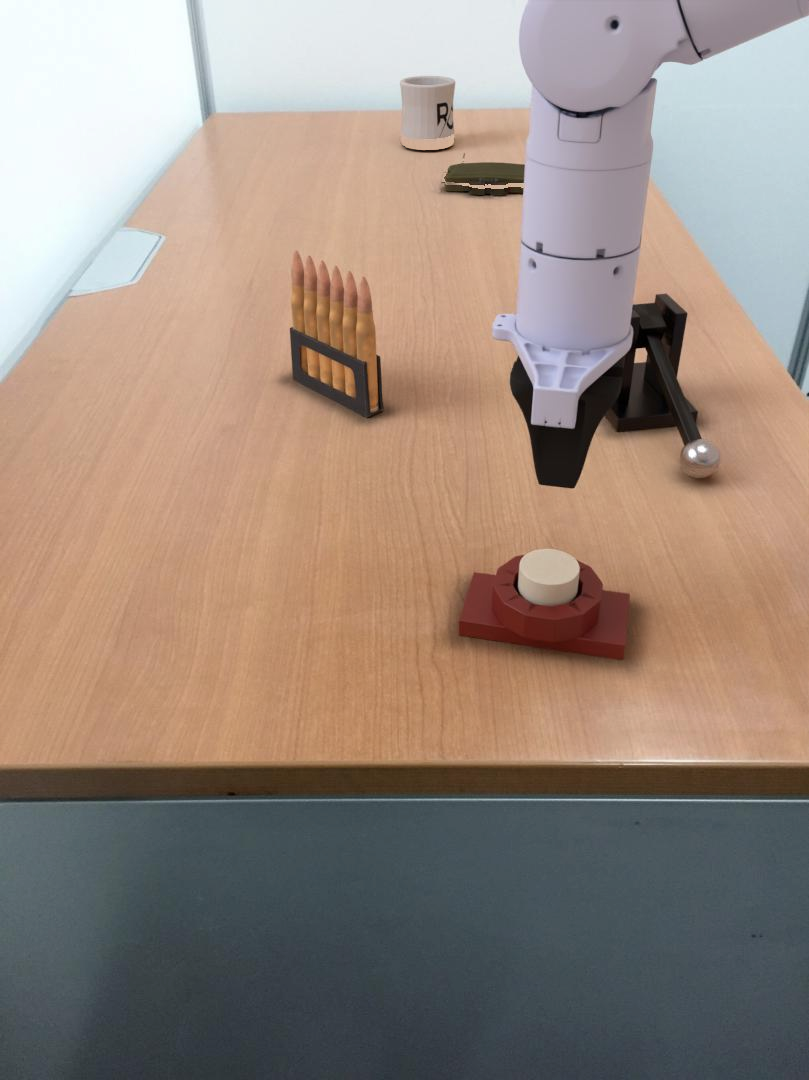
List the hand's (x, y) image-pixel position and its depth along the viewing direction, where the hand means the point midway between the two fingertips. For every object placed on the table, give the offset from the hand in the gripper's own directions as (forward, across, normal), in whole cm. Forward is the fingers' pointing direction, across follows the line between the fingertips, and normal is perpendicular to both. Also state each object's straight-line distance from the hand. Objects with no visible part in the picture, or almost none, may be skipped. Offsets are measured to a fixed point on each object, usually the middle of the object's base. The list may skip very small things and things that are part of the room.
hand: (557, 480), depth 54 cm
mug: (+11, -119, -34) cm, 124 cm away
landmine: (+11, -98, -20) cm, 101 cm away
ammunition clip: (+11, -27, -22) cm, 36 cm away
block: (+10, 0, 0) cm, 10 cm away
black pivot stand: (+10, -32, +4) cm, 33 cm away
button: (+8, 0, 0) cm, 8 cm away
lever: (+8, -26, +6) cm, 28 cm away
